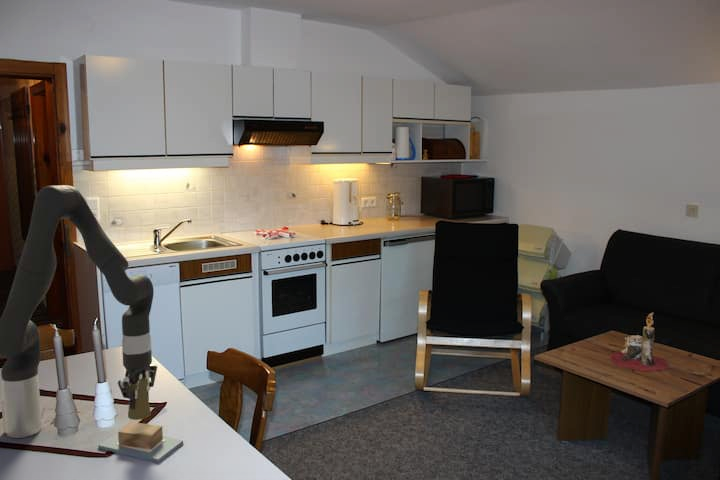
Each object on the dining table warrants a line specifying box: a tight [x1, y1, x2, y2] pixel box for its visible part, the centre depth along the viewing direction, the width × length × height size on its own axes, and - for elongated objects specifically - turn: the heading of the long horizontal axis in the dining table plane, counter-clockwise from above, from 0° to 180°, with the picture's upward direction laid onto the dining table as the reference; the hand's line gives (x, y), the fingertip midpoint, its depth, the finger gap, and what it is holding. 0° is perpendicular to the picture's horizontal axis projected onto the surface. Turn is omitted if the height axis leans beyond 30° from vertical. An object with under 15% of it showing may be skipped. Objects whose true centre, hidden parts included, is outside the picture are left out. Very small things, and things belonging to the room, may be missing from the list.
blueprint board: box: [97, 432, 184, 464], centre depth 175 cm, size 20×11×1 cm, turn 70°
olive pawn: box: [127, 377, 152, 421], centre depth 172 cm, size 6×6×11 cm
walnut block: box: [117, 421, 164, 449], centre depth 174 cm, size 10×6×4 cm, turn 79°
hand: (139, 406), depth 173 cm, fingers closed on olive pawn, 3 cm apart
